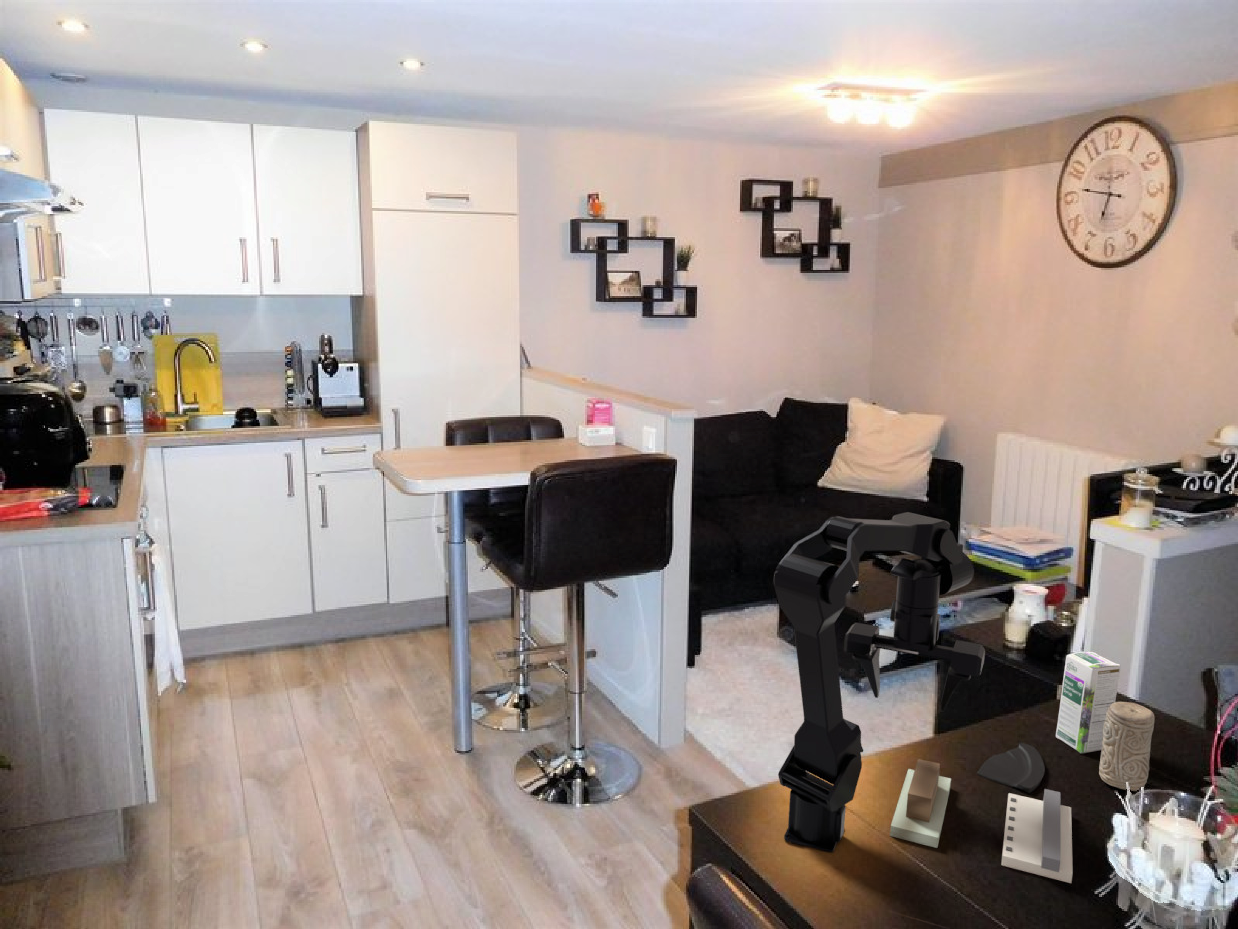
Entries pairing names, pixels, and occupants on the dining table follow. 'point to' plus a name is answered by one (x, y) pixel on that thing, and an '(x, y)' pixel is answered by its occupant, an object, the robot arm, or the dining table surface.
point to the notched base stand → (1038, 836)
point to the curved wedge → (1015, 768)
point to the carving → (1126, 745)
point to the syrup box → (1086, 700)
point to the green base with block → (921, 805)
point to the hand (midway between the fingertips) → (909, 703)
